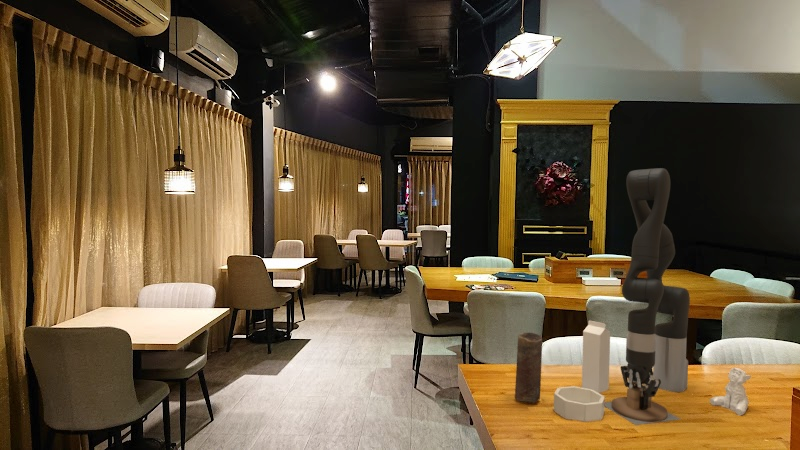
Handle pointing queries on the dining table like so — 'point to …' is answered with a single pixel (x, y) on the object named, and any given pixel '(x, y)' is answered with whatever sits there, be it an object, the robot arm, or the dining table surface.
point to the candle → (528, 367)
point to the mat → (637, 422)
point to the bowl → (579, 403)
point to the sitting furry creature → (734, 393)
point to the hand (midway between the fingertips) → (638, 406)
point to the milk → (596, 357)
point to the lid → (631, 407)
